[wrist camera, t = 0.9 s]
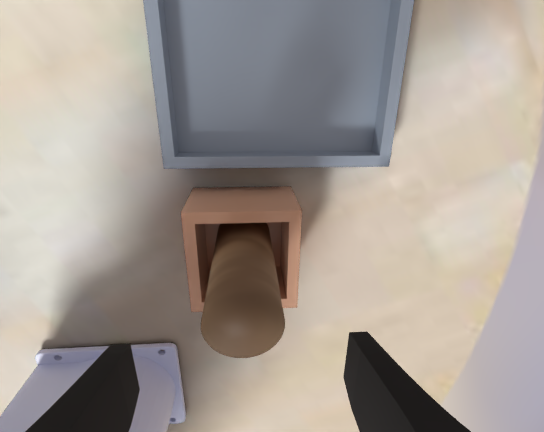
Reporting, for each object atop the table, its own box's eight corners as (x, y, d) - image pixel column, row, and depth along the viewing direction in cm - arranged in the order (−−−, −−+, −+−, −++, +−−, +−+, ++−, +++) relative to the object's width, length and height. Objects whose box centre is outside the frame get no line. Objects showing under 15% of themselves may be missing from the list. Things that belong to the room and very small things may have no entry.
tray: (171, 161, 18) (163, 168, 16) (146, -60, 14) (133, -79, 13) (376, 159, 19) (389, 166, 17) (404, -49, 15) (423, -65, 14)
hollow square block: (200, 272, 21) (191, 312, 17) (193, 187, 19) (180, 212, 15) (288, 269, 21) (297, 307, 18) (290, 186, 19) (301, 210, 16)
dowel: (218, 259, 20) (203, 359, 13) (215, 211, 19) (197, 292, 11) (269, 257, 20) (283, 355, 13) (269, 210, 19) (286, 289, 12)
